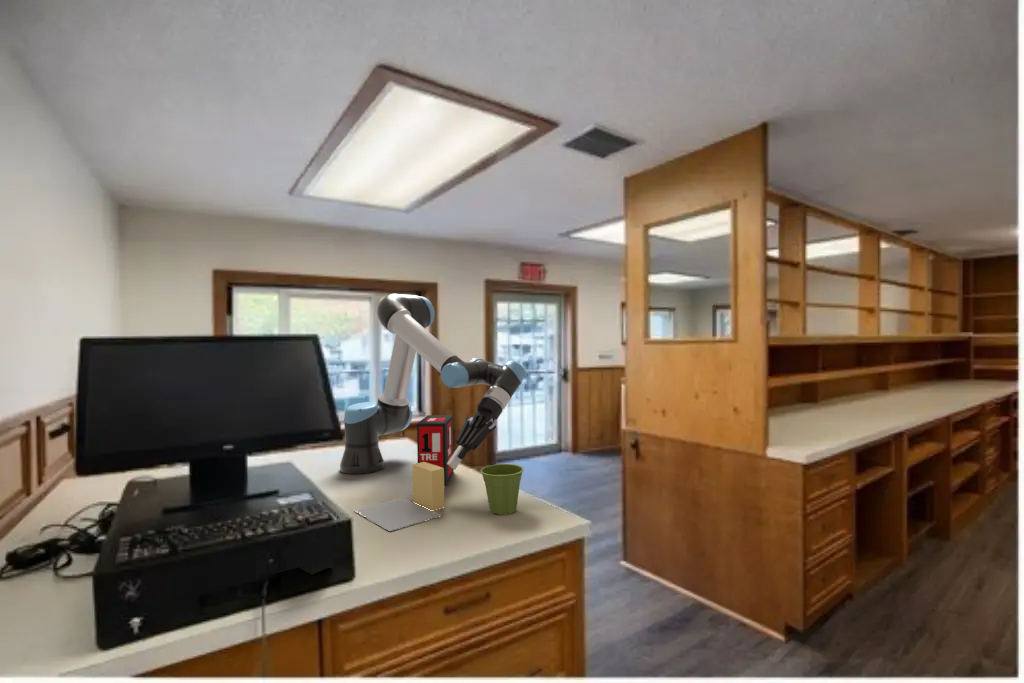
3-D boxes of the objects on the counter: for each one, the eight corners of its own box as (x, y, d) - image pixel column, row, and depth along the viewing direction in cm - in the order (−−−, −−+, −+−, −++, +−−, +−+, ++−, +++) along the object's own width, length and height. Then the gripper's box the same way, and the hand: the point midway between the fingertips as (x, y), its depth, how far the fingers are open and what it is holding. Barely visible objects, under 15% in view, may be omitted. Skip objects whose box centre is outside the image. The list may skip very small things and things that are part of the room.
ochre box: (412, 502, 141) (412, 464, 141) (424, 499, 144) (424, 461, 144) (432, 511, 134) (431, 471, 134) (444, 507, 136) (443, 468, 136)
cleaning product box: (428, 472, 173) (427, 415, 173) (453, 472, 172) (452, 415, 172) (417, 486, 156) (417, 423, 156) (445, 486, 156) (445, 423, 156)
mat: (353, 511, 134) (353, 510, 134) (402, 498, 145) (402, 497, 145) (389, 532, 120) (389, 531, 120) (441, 516, 130) (441, 515, 130)
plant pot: (507, 500, 142) (507, 461, 142) (533, 512, 132) (532, 470, 132) (472, 509, 135) (471, 468, 135) (496, 522, 125) (496, 477, 125)
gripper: (473, 394, 158) (430, 455, 147) (500, 397, 148) (456, 463, 137) (486, 409, 162) (445, 470, 150) (513, 412, 152) (472, 478, 141)
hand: (450, 466), depth 144 cm, fingers closed
